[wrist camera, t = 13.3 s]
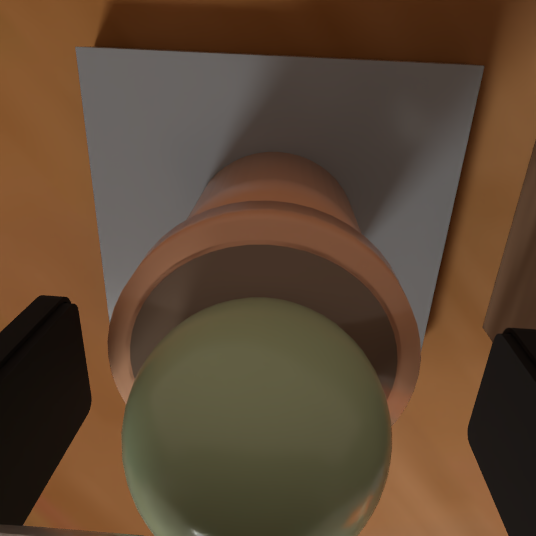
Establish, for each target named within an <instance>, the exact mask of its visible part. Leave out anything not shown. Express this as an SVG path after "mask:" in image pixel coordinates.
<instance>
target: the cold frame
mask: <svg viewBox="0 0 536 536" xmlns="http://www.w3.org/2000/svg"><path fill="white" fill-rule="evenodd" d="M506 328H523V329H535V330H536V141H535V145H534V148H533V152H532V155H531V159H530V162H529V166H528V169H527V173H526V177H525V180H524V184H523V187H522V191H521V194H520V198H519V201H518V205H517V208H516V212H515V215H514V219H513V222H512V226H511V229H510V233H509V236H508V240H507V243H506V247H505V250H504V254H503V257H502V261H501V264H500V268H499V272H498V275H497V279H496V282H495V286H494V289H493V293H492V296H491V300H490V303H489V307H488V310H487V314H486V317H485V321H484V324H483V329H484V330H485V332H486V333H487V334H488V336H489V337H490V339H491V340H492V342H493V340H494V338H495V336H496V335H497V334H498V333H500V334H502V333H503V331H504V330H505V329H506Z"/></svg>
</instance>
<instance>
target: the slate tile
mask: <svg viewBox="0 0 536 536" xmlns="http://www.w3.org/2000/svg"><path fill="white" fill-rule="evenodd" d="M76 55H77V63H78V71H79V79H80V87H81V96H82V104H83V112H84V120H85V128H86V136H87V144H88V152H89V160H90V168H91V176H92V184H93V192H94V200H95V208H96V216H97V225H98V233H99V241H100V249H101V257H102V265H103V273H104V281H105V289H106V297H107V305H108V313H109V321H111V317H112V313H113V310H114V307H115V305H116V302H117V300H118V298H119V296H120V294H121V292H122V290H123V288H124V287H125V285H126V284H127V283H128V281H129V280H130V278H131V277H132V275H133V274H134V272H135V271H136V269H137V268H138V266H139V265H140V263H141V262H142V260H143V259H144V257H145V256H146V254H147V253H148V251H149V250H150V249H151V248H152V247H153V246H154V245H155V244H156V243H157V242H158V241H159V239H160V238H162V237H163V236H164V235H165V234H167V233H168V232H169V231H170V230H171V229H173V228H174V227H175V226H177V225H179V224H180V223H182V222H184V221H185V220H186V219H187V217H188V216H189V214H190V212H191V211H192V209H193V207H194V205H195V204H196V202H197V200H198V198H199V197H200V195H201V193H202V192H203V190H204V188H205V187H206V186H207V184H208V183H209V181H210V180H211V179H212V178H213V177H214V176H215V175H216V174H217V173H218V172H219V171H220V170H222V169H223V168H224V167H225V166H227V165H229V164H230V163H232V162H234V161H236V160H238V159H240V158H242V157H245V156H248V155H252V154H256V153H263V152H284V153H290V154H294V155H298V156H301V157H304V158H306V159H309V160H311V161H313V162H314V163H316V164H318V165H320V166H321V167H322V168H324V169H325V170H326V171H328V172H329V173H330V174H331V175H332V176H333V177H334V178H335V179H336V180H337V181H338V183H339V184H340V185H341V187H342V188H343V190H344V192H345V193H346V195H347V197H348V199H349V202H350V205H351V207H352V210H353V212H354V215H355V218H356V220H357V223H358V226H359V228H360V231H361V233H362V235H364V236H365V237H366V238H367V239H368V240H369V241H370V242H371V243H372V244H373V245H374V246H375V247H376V248H377V249H378V250H379V251H380V252H381V253H382V255H383V256H384V257H385V259H386V260H387V261H388V263H389V264H390V265H391V267H392V269H393V271H394V273H395V275H396V276H397V278H398V280H399V282H400V284H401V286H402V289H403V291H404V293H405V295H406V297H407V299H408V302H409V304H410V306H411V308H412V311H413V314H414V317H415V320H416V322H417V326H418V331H419V337H420V344H421V349H422V344H423V340H424V335H425V331H426V326H427V322H428V317H429V313H430V308H431V304H432V299H433V295H434V290H435V286H436V281H437V277H438V272H439V268H440V263H441V259H442V254H443V250H444V245H445V241H446V236H447V232H448V227H449V223H450V218H451V214H452V209H453V205H454V200H455V196H456V191H457V187H458V182H459V178H460V173H461V169H462V164H463V160H464V155H465V151H466V146H467V142H468V137H469V133H470V128H471V124H472V119H473V115H474V110H475V106H476V101H477V97H478V92H479V88H480V83H481V79H482V74H483V70H484V66H482V65H473V64H458V63H437V62H415V61H394V60H372V59H351V58H329V57H308V56H286V55H264V54H243V53H221V52H200V51H178V50H157V49H135V48H114V47H76Z"/></svg>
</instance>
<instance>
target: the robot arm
mask: <svg viewBox="0 0 536 536" xmlns="http://www.w3.org/2000/svg"><path fill="white" fill-rule="evenodd" d="M90 407H91V391H90V384H89V378H88V371H87V364H86V358H85V351H84V344H83V338H82V331H81V324H80V318H79V311H78V307H77V305H75V304H71V302H70V300H69V298H67V297H59V296H45V295H42V296H39V297H37V298H36V299H35V300H34V301H33V302H32V303H31V304H30V305H29V306H28V307H27V308H26V309H25V310H24V311H22V312H21V313H20V314H19V315H18V316H17V317H16V318H15V319H14V320H13V321H12V322H11V323H10V324H9V325H8V326H7V327H5V328H4V329H3V330H2V331H1V332H0V536H142V535H130V534H118V533H106V532H94V531H82V530H70V529H58V528H46V527H32V526H23V524H24V522H25V520H26V519H27V517H28V515H29V514H30V512H31V510H32V508H33V507H34V505H35V503H36V502H37V500H38V498H39V497H40V495H41V493H42V491H43V490H44V488H45V486H46V485H47V483H48V481H49V479H50V478H51V476H52V474H53V473H54V471H55V469H56V467H57V466H58V464H59V462H60V461H61V459H62V457H63V456H64V454H65V452H66V450H67V449H68V447H69V445H70V444H71V442H72V440H73V438H74V437H75V435H76V433H77V432H78V430H79V428H80V427H81V425H82V423H83V421H84V420H85V418H86V416H87V415H88V413H89V410H90ZM468 440H469V444H470V446H471V449H472V451H473V453H474V456H475V458H476V460H477V463H478V465H479V467H480V470H481V472H482V474H483V477H484V479H485V481H486V484H487V486H488V488H489V491H490V493H491V495H492V498H493V500H494V502H495V505H496V507H497V509H498V512H499V514H500V516H501V519H502V521H503V524H504V526H505V528H506V531H507V533H508V535H509V536H536V330H535V329H523V328H506V329H505V330H504V331H503V333H502V334H500V333H498V334H497V335H496V336H495V338H494V340H493V344H492V347H491V350H490V354H489V357H488V361H487V364H486V367H485V371H484V374H483V378H482V381H481V384H480V388H479V391H478V395H477V398H476V401H475V405H474V408H473V412H472V415H471V418H470V422H469V425H468Z"/></svg>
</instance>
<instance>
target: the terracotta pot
mask: <svg viewBox="0 0 536 536" xmlns="http://www.w3.org/2000/svg"><path fill="white" fill-rule="evenodd" d="M108 355H109V362H110V367H111V371H112V375H113V378H114V380H115V383H116V386H117V389H118V391H119V393H120V394H121V396H122V398H123V400H124V402H125V404H126V406H125V412H124V419H123V426H122V461H123V466H124V471H125V475H126V480H127V484H128V488H129V490H130V493H131V495H132V498H133V500H134V502H135V505H136V507H137V510H138V512H139V513H140V515H141V517H142V518H143V520H144V521H145V523H146V524H147V526H148V527H149V529H150V530H151V532H152V533H153V534H154V536H358V535H359V533H360V532H361V531H362V529H363V528H364V527H365V525H366V524H367V522H368V520H369V519H370V517H371V516H372V514H373V512H374V510H375V508H376V506H377V504H378V502H379V500H380V497H381V495H382V492H383V490H384V487H385V483H386V480H387V477H388V472H389V466H390V460H391V452H392V428H391V426H392V425H393V424H394V423H395V422H396V421H397V419H398V418H399V416H400V415H401V413H402V412H403V410H404V409H405V408H406V406H407V404H408V402H409V400H410V398H411V396H412V394H413V392H414V388H415V385H416V382H417V379H418V375H419V368H420V361H421V344H420V337H419V331H418V326H417V322H416V320H415V317H414V314H413V311H412V308H411V306H410V304H409V302H408V299H407V297H406V295H405V293H404V291H403V289H402V286H401V284H400V282H399V280H398V278H397V276H396V275H395V273H394V271H393V269H392V267H391V265H390V264H389V263H388V261H387V260H386V259H385V257H384V256H383V255H382V253H381V252H380V251H379V250H378V249H377V248H376V247H375V246H374V245H373V244H372V243H371V242H370V241H369V240H368V239H367V238H366V237H365V236H364V235H362V233H361V231H360V228H359V226H358V223H357V220H356V218H355V215H354V212H353V210H352V207H351V205H350V202H349V199H348V197H347V195H346V193H345V192H344V190H343V188H342V187H341V185H340V184H339V183H338V181H337V180H336V179H335V178H334V177H333V176H332V175H331V174H330V173H329V172H328V171H326V170H325V169H324V168H322V167H321V166H320V165H318V164H316V163H314V162H313V161H311V160H309V159H306V158H304V157H301V156H298V155H294V154H290V153H284V152H263V153H256V154H252V155H248V156H245V157H242V158H240V159H238V160H236V161H234V162H232V163H230V164H229V165H227V166H225V167H224V168H223V169H222V170H220V171H219V172H218V173H217V174H216V175H215V176H214V177H213V178H212V179H211V180H210V181H209V183H208V184H207V186H206V187H205V188H204V190H203V192H202V193H201V195H200V197H199V198H198V200H197V202H196V204H195V205H194V207H193V209H192V211H191V212H190V214H189V216H188V217H187V219H186V220H185V221H184V222H182V223H180V224H179V225H177V226H175V227H174V228H173V229H171V230H170V231H169V232H168V233H167V234H165V235H164V236H163V237H162V238H160V239H159V241H158V242H157V243H156V244H155V245H154V246H153V247H152V248H151V249H150V250H149V251H148V253H147V254H146V256H145V257H144V259H143V260H142V262H141V263H140V265H139V266H138V268H137V269H136V271H135V272H134V274H133V275H132V277H131V278H130V280H129V281H128V283H127V284H126V285H125V287H124V288H123V290H122V292H121V294H120V296H119V298H118V300H117V302H116V305H115V307H114V310H113V313H112V317H111V321H110V325H109V334H108Z"/></svg>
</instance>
